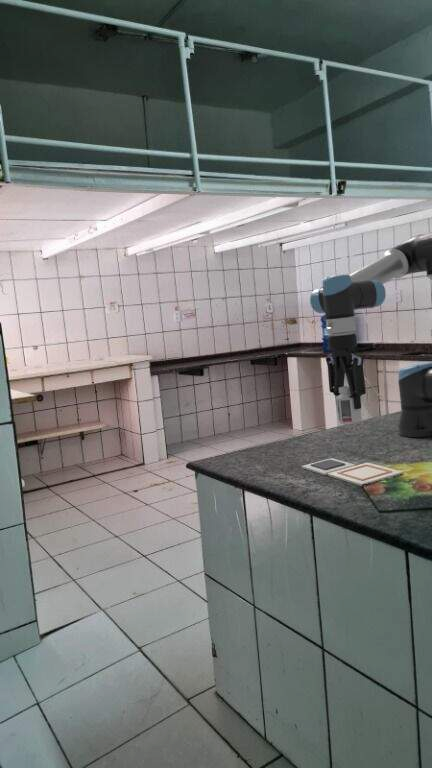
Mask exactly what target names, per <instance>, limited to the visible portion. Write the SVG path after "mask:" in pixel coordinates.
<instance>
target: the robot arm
mask: <svg viewBox="0 0 432 768" xmlns="http://www.w3.org/2000/svg"><path fill="white" fill-rule="evenodd" d="M423 272H426V277H427V278H428V279H430V281H432V231H430V232H428V233H422V234H418V235H416V236H413V237H410V238H408V239H406V240H405V241H403V242H401V243H399V244H397V245H395V246H394V247H392V248H390V249H388V250H387V251H385V252H384V254H383V255H382V257H380V258H378V259H377V260H374V261H373V262H370V263H369V264H367V265H365V266H363V267H361V268H360V269H357V270H355V271H354V272H352V273H351V274H338V275H330V276H326V277H324V279H322V287H319V288H316V289H314V290H312V292H311V294H310V296H309V297H310V298H309V299H310V300H309V302H310V305H311V306H310V307H311V308H312V310H313V311H314V312H316V313H317V314H325V322H326V325H325V327H326V334H327V335H328V337H327V346H328V347H327V349H328V350H329V351H331V356H327V357H325V361H326V365H327V374H328V375H327V376H328V387H329V388H328V389H329V392H330V393H332V394H333V396H334V398H335V405H336V411H337V419H338V420H339V413H338V403H337V397H338V396H339V395H340V393H339V387H343V386H345V378H346V381H347V386H349V388H350V392H351V396H349V397H350V408H351V419H352V422H356V421H359V422H360V421H363V420H362V400H361V399H362V398H361V397H362V395H366V392H367V391H366V383H365V373H364V357H363V356H358V355H357V353H356V351H355V348H357V346H358V341H357V334H356V333H354V332H356V331H357V328H356V327H357V325H356V318H355V311H356V310H365V309H373V308H377V307H379V306H381V305H382V304H383V303H384V302H385V299H386V295H387V294H386V292H387V291H386V287H385V286H384V284H385V283H388V282H390V281H391V280H393V279H401V278H403V277H405V276H408V275H410V274H415V273H423ZM345 376H346V377H345ZM397 381H398V389H399V397H400V398H399V401H400V408H401V409H400V410H401V411H400V412H401V413H400V415H399V417H400V418H399V422H398V425H397V434H398V435H400V436H402V437H406V438H407V437H408V438H425V437H432V362H424V363H417V364H414V365H413V364H412V365H408V366H405V367H401V368H400V369H399V370H398V379H397Z"/></svg>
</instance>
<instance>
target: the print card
mask: <svg viewBox="0 0 432 768" xmlns="http://www.w3.org/2000/svg"><path fill="white" fill-rule="evenodd" d="M355 465H356V464H355ZM400 474H401V475H404V471H401V470H399V469H393V468H390V467H387V466H386V467H385V466H383V465H378V464H374V463H371V462H364V463H361V464H357V465H356V466H353V467H349V468H346V469H342V470H338V471H335V472H331V473H328V474H327V476H328V477H331V478H335V479H337V480H339V481H344V482H347V483H349V484H353V485H356V486H359V487H363V486H362V485H363V484H368V483H371V484H373V483H372V482H375V481H378V482H380V481H379V480H381V481H383V480H382V479H385V478H388V479H390V478H389V477H391V478H394V477H393V476H395V477H397V476H396V475H398V476H400ZM385 480H386V479H385ZM375 483H376V482H375ZM368 485H369V484H368Z"/></svg>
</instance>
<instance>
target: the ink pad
mask: <svg viewBox="0 0 432 768" xmlns="http://www.w3.org/2000/svg"><path fill="white" fill-rule="evenodd" d="M353 466H356V464H355V463H351V462H347V461H344V460H340V459H337V458H332V457H331V458H326V459H324V460H323V459H322V460H319V461H316V462H312V463H308V464H304V465H301V467H300V468H301V469H304V470H306V471H309V472H313V473H316V474H319V475H322V476H328V473H331V472H335V471H338V470H342V469H346V468H349V467H353Z"/></svg>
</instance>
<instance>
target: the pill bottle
mask: <svg viewBox="0 0 432 768" xmlns="http://www.w3.org/2000/svg"><path fill="white" fill-rule="evenodd" d="M339 393H340V395H339V396H338V397H337V403H338V413H339V419H338V421H339V424H341V425H352V424H357V423H360V421H356V422H352V419H351V408H350V397H349V396H351V392H350V388H349V385H344V386H343V387H339ZM338 413H337V414H338Z"/></svg>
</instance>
